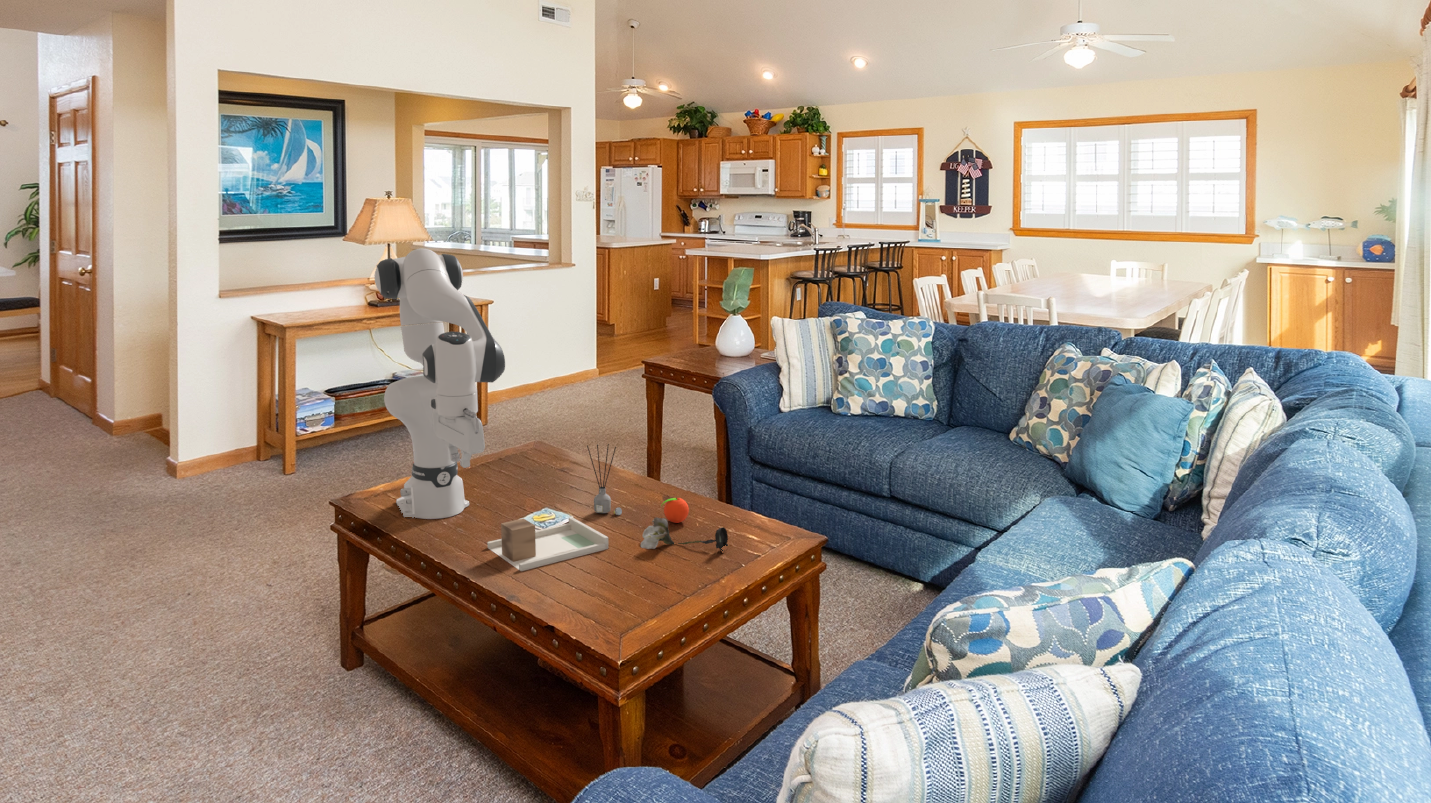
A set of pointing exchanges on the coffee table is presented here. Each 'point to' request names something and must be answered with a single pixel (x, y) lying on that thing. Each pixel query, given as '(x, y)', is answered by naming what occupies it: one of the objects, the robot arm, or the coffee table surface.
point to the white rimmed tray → (558, 544)
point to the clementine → (676, 510)
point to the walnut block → (518, 539)
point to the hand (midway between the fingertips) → (460, 463)
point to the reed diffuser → (603, 492)
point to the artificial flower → (662, 534)
